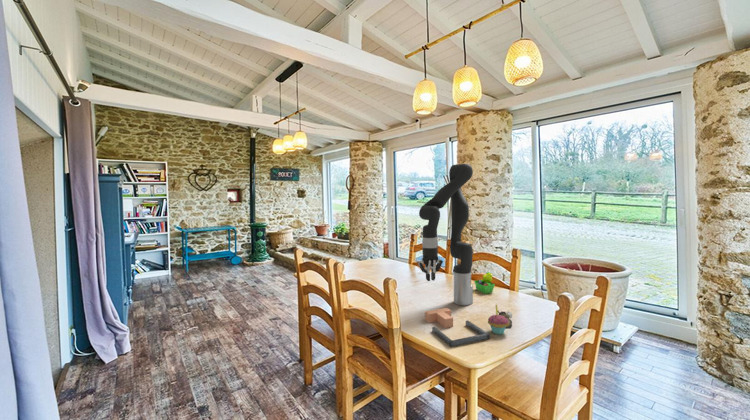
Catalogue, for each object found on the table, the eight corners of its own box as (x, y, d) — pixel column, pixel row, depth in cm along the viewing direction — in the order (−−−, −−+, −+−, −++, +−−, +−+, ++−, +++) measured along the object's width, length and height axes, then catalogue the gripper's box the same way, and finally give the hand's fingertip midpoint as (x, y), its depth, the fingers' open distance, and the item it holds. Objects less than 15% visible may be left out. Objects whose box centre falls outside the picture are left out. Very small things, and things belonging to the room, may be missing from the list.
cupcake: (484, 328, 143) (484, 301, 143) (503, 326, 144) (502, 300, 143) (493, 336, 135) (493, 309, 134) (512, 335, 136) (512, 307, 135)
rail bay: (468, 324, 147) (467, 320, 147) (489, 339, 133) (489, 334, 133) (432, 331, 142) (432, 326, 142) (451, 347, 127) (450, 342, 127)
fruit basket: (473, 288, 199) (473, 270, 198) (486, 287, 201) (486, 269, 200) (484, 294, 188) (483, 275, 187) (497, 293, 190) (497, 274, 189)
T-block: (446, 315, 159) (446, 307, 159) (460, 325, 147) (460, 316, 147) (425, 319, 155) (424, 311, 155) (437, 329, 144) (437, 320, 143)
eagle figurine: (492, 317, 152) (493, 321, 144) (500, 305, 152) (502, 308, 143) (506, 327, 150) (508, 332, 142) (515, 315, 149) (517, 319, 141)
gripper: (438, 243, 165) (439, 277, 166) (414, 246, 161) (414, 280, 162) (446, 246, 158) (446, 280, 159) (420, 248, 154) (421, 284, 155)
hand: (430, 280), depth 160 cm, fingers closed
